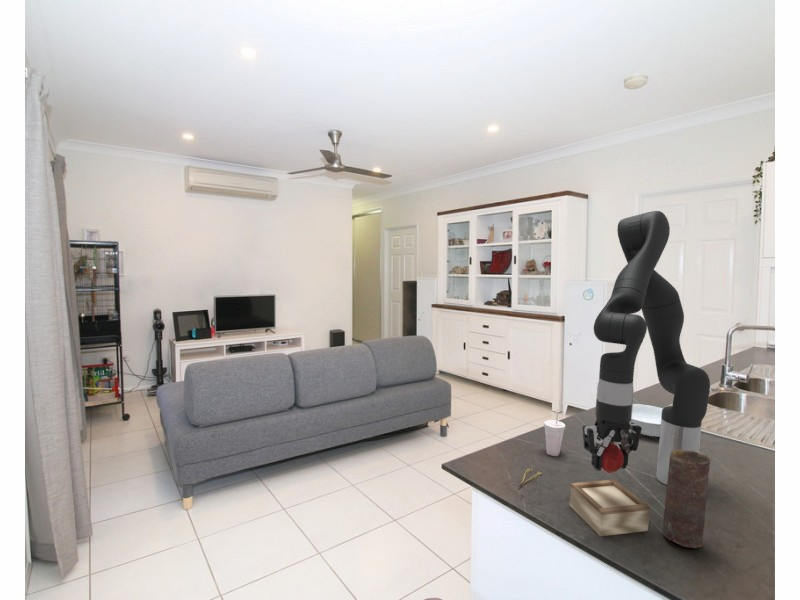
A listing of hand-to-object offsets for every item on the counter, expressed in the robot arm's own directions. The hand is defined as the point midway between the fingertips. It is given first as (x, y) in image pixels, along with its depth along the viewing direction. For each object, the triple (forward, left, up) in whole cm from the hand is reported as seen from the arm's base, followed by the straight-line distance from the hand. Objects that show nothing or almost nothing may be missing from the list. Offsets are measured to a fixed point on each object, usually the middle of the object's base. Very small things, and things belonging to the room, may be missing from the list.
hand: (609, 467), depth 102 cm
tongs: (+10, -19, -13) cm, 25 cm away
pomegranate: (0, 0, -1) cm, 1 cm away
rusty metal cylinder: (-11, +11, -12) cm, 20 cm away
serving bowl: (-48, -44, -13) cm, 66 cm away
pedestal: (0, 0, -12) cm, 12 cm away
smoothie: (-5, -33, -12) cm, 35 cm away
